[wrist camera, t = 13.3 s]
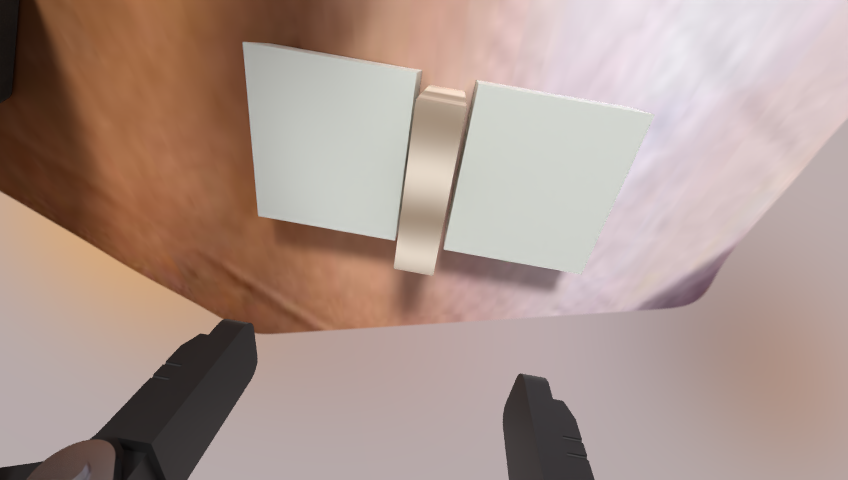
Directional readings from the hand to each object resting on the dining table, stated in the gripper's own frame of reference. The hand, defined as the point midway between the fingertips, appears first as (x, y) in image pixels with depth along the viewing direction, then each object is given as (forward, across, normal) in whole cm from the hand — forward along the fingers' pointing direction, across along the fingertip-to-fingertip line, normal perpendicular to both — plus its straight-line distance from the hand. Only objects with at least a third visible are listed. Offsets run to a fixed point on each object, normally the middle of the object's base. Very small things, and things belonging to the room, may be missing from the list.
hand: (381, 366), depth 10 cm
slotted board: (+24, 0, 0) cm, 24 cm away
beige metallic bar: (+24, 0, 0) cm, 24 cm away
